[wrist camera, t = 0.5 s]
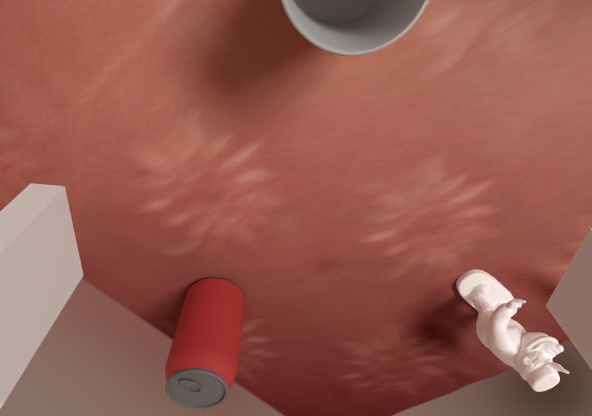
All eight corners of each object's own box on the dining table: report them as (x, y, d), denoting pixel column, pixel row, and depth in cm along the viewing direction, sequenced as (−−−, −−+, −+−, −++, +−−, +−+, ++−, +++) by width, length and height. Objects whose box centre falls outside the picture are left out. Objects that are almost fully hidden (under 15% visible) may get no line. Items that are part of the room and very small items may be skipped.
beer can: (212, 264, 45) (191, 356, 35) (257, 296, 48) (249, 391, 37) (174, 296, 47) (144, 391, 37) (219, 325, 50) (202, 422, 40)
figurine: (536, 296, 48) (603, 388, 38) (487, 326, 51) (538, 420, 41) (492, 254, 45) (552, 343, 35) (442, 288, 48) (485, 380, 37)
